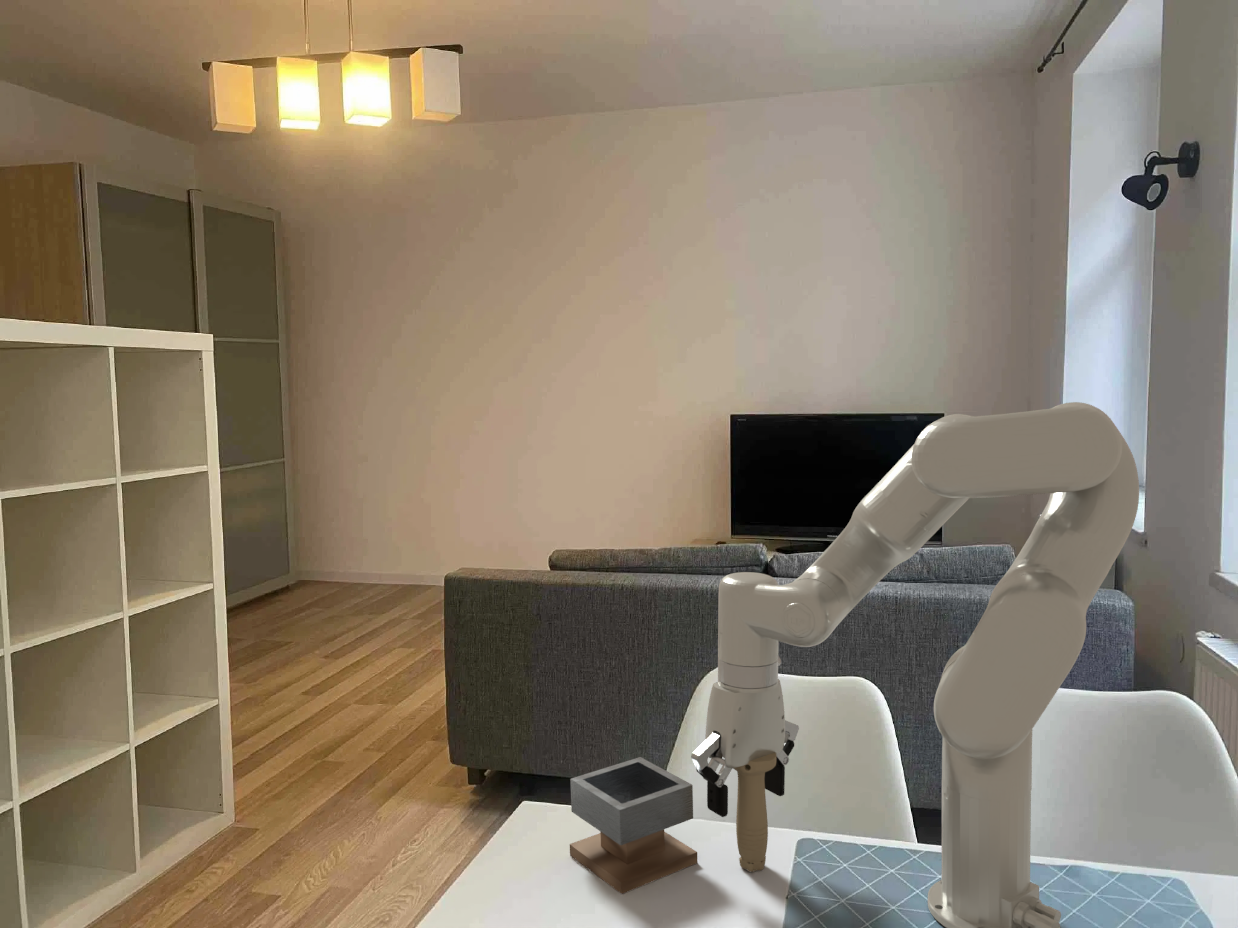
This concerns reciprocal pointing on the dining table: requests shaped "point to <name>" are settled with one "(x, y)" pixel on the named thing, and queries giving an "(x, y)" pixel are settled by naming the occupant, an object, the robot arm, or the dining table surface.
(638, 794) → the grey open box
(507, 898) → the dining table surface
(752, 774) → the handle
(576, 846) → the stand
